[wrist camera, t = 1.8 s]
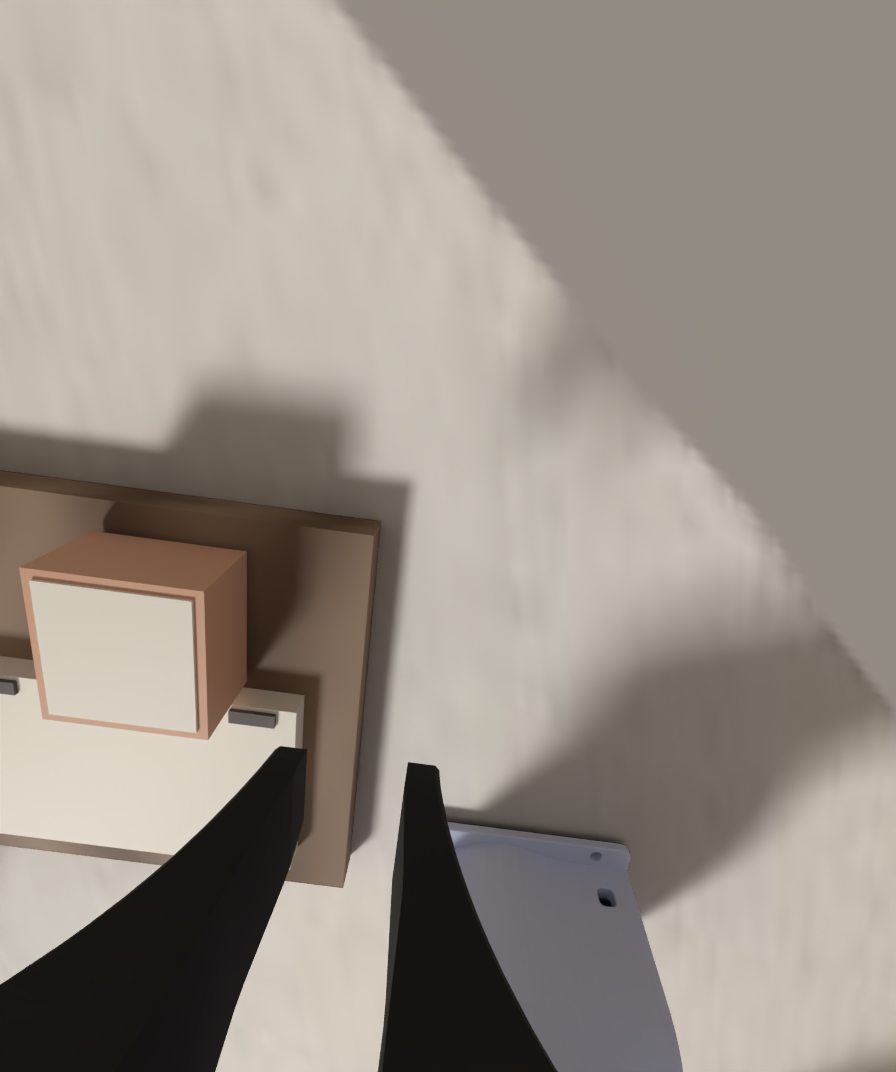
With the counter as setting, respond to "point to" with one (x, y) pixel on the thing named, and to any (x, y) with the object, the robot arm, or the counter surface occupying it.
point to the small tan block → (138, 633)
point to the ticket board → (251, 721)
